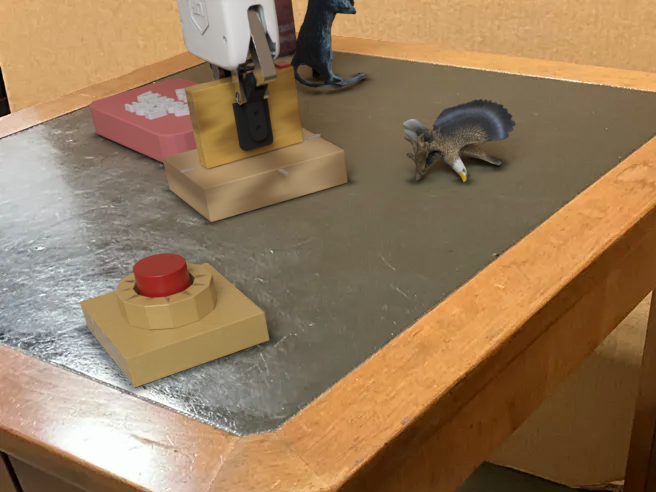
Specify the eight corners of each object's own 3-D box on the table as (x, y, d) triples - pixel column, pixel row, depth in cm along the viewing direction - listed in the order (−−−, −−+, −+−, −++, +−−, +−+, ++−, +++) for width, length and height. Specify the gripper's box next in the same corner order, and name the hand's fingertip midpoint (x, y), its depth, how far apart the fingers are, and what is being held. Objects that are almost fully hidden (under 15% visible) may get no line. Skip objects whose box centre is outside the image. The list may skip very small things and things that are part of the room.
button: (149, 305, 60) (143, 281, 59) (131, 286, 63) (124, 262, 61) (199, 289, 62) (193, 265, 60) (179, 271, 64) (174, 248, 63)
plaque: (289, 93, 93) (165, 132, 86) (295, 131, 96) (175, 172, 89) (197, 64, 103) (80, 97, 96) (204, 100, 106) (90, 134, 99)
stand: (219, 230, 78) (212, 194, 76) (160, 183, 87) (152, 150, 85) (360, 189, 83) (357, 153, 81) (290, 148, 92) (286, 116, 90)
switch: (134, 388, 59) (118, 334, 57) (88, 329, 66) (71, 278, 63) (269, 340, 63) (260, 287, 60) (213, 288, 69) (202, 239, 67)
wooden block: (207, 169, 80) (191, 88, 76) (199, 164, 81) (183, 84, 77) (303, 142, 84) (293, 63, 80) (294, 137, 85) (284, 60, 81)
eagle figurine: (445, 188, 79) (529, 146, 80) (408, 108, 77) (495, 67, 79) (419, 208, 86) (496, 169, 88) (385, 136, 84) (465, 98, 86)
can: (259, 48, 122) (244, -56, 114) (299, 45, 122) (286, -59, 114) (255, 58, 118) (238, -49, 110) (295, 56, 118) (282, -51, 110)
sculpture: (386, 86, 106) (376, -65, 96) (296, 98, 105) (277, -54, 95) (373, 68, 112) (362, -76, 102) (288, 78, 111) (269, -66, 101)
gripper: (126, -102, 73) (178, 132, 86) (210, -85, 63) (255, 177, 76) (209, -115, 76) (247, 114, 89) (302, -100, 66) (330, 155, 79)
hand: (250, 142), depth 82 cm, fingers closed on wooden block
